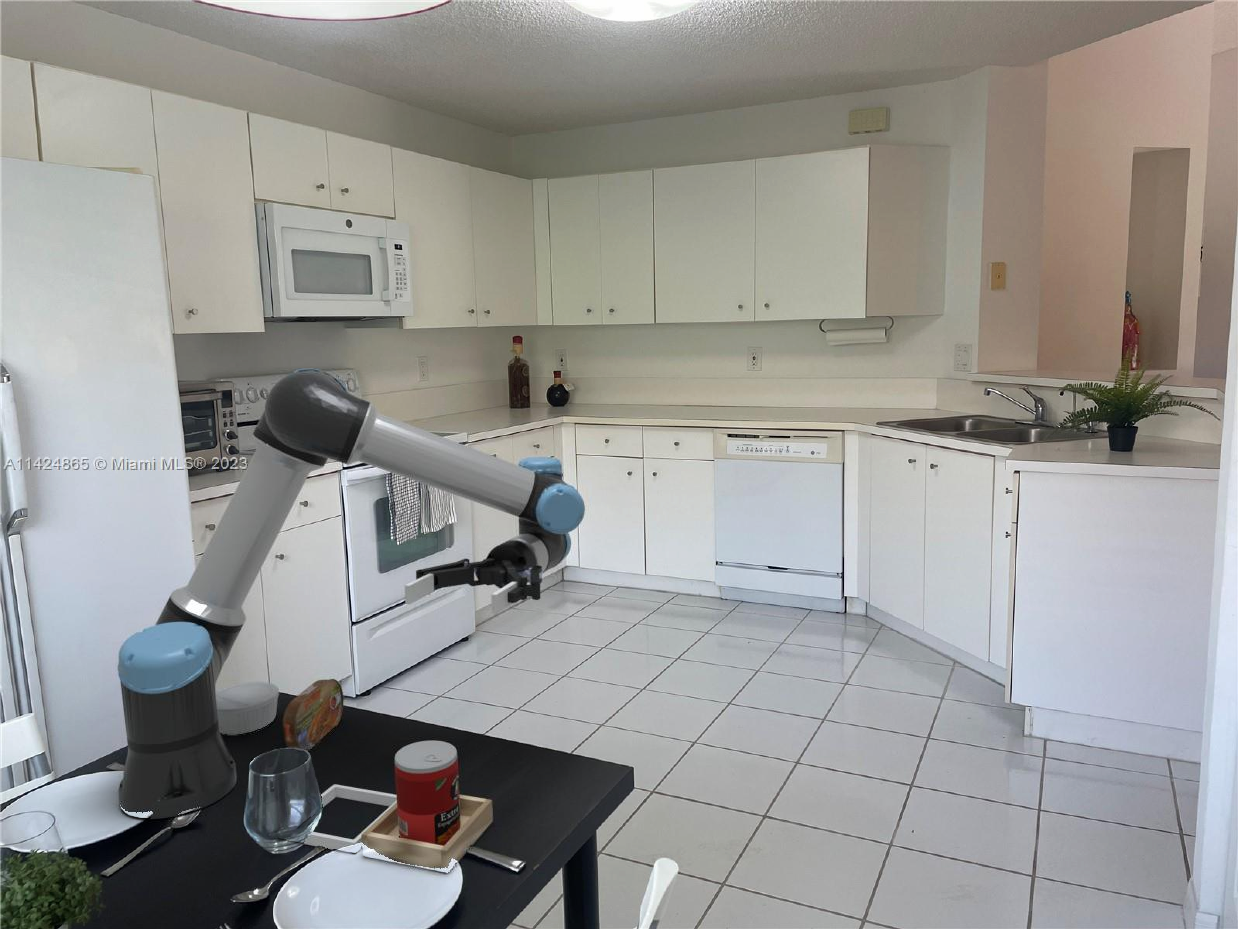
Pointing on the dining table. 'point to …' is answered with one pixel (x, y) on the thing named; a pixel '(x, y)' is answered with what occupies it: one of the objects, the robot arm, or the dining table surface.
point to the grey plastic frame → (352, 794)
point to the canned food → (427, 792)
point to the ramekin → (246, 707)
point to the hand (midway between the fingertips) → (449, 599)
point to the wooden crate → (387, 843)
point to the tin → (313, 714)
